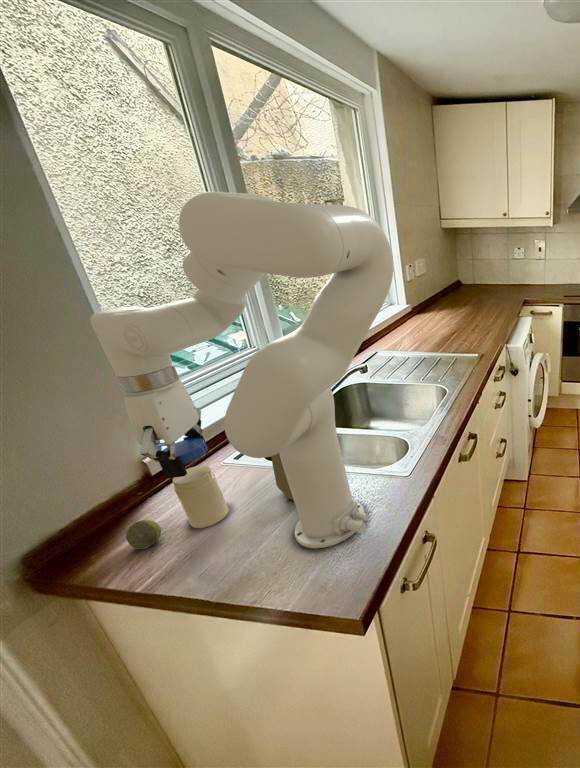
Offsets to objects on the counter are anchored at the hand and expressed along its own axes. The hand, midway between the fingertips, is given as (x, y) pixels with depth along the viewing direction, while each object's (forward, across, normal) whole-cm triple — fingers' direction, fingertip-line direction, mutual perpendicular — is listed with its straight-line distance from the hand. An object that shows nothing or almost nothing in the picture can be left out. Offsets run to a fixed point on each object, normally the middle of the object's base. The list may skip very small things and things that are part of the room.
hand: (189, 464), depth 75 cm
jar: (+13, 0, -1) cm, 13 cm away
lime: (+13, +5, -9) cm, 17 cm away
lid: (-3, 0, 0) cm, 3 cm away
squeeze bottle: (+13, -5, +16) cm, 21 cm away
